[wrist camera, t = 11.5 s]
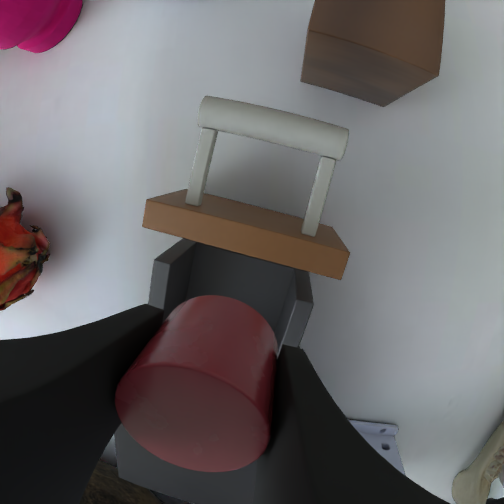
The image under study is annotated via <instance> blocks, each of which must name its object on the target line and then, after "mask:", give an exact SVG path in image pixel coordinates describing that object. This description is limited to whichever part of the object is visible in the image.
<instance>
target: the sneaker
mask: <svg viewBox="0 0 504 504" xmlns="http://www.w3.org/2000/svg"><path fill="white" fill-rule="evenodd" d="M486 504H504V498H500V499H493V498H488V499H487V501H486Z"/></svg>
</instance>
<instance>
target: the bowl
mask: <svg viewBox="0 0 504 504" xmlns="http://www.w3.org/2000/svg"><path fill="white" fill-rule="evenodd" d="M79 504H163V503H162V502H161V501H160V500H159V499H158V498H157V496H155V495H154V494H153V493H152V492H151V491H150V490H149V489H147V488H144V487H142V486H139V485H137V484H134V483H132V482H129V481H127V480H124V479H122V478H119V474H118V468H116V467H114V466H112V465H110V464H108V463H106V462H103V461H101V460H99V461H98V463H97V465H96V467H95V469H94V471H93V473H92V476H91V478H90V480H89V482H88V484H87V486H86V489H85V491H84V493H83V495H82V498H81V500H80V503H79Z"/></svg>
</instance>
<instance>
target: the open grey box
mask: <svg viewBox="0 0 504 504" xmlns="http://www.w3.org/2000/svg"><path fill="white" fill-rule="evenodd" d="M298 348H300V346H298ZM114 436H115V447H116V457H117V466H118V474H119V478H122V479H124V480H127V481H129V482H132V483H134V484H137V485H139V486H142V487H144V488H147V489H150V490H153V491H155V492H158V493H161V494H164V495H167V496H170V497H173V498H177V499H180V500H183V501H187V502H190V503H194V504H252V499H253V494H254V486H255V474H256V461H254V462H253V463H251V464H249V465H248V466H245V467H243V468H240V469H237V470H233V471H227V472H201V471H194V470H189V469H186V468H182V467H179V466H176V465H173V464H171V463H169V462H166V461H164V460H162V459H160V458H158V457H157V456H155V455H153V454H152V453H150V452H149V451H147V450H146V449H145V448H143V447H142V446H141V445H140V444H139V443H138V442H136V441H135V440H134V439H133V438H132V436H131V435H130V434H129V433H128V432H127V430H126V429H125V428H124V426H123V424H122V423H121V424H120V426H119V427H118V428H117V430H116V431H115V433H114Z"/></svg>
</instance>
